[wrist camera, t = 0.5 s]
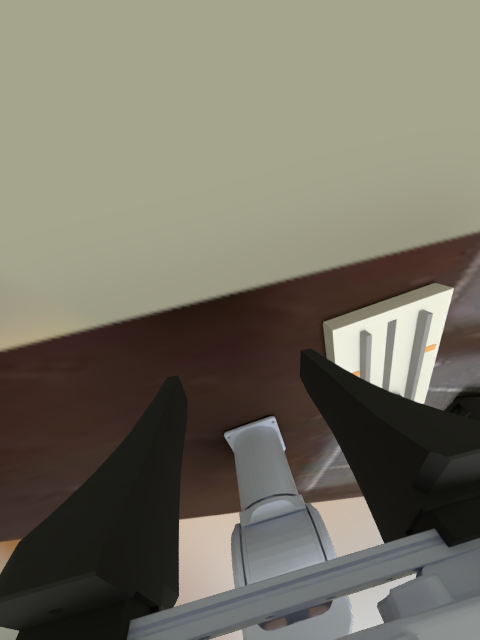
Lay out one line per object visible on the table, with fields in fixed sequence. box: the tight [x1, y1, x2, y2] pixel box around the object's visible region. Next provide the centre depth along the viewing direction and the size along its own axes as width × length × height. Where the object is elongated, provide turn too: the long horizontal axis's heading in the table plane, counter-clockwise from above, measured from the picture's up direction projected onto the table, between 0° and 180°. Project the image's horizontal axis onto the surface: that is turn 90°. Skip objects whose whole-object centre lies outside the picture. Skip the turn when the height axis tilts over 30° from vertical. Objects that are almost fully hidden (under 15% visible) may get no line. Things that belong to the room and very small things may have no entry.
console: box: [323, 283, 454, 404], centre depth 27 cm, size 20×14×3 cm
